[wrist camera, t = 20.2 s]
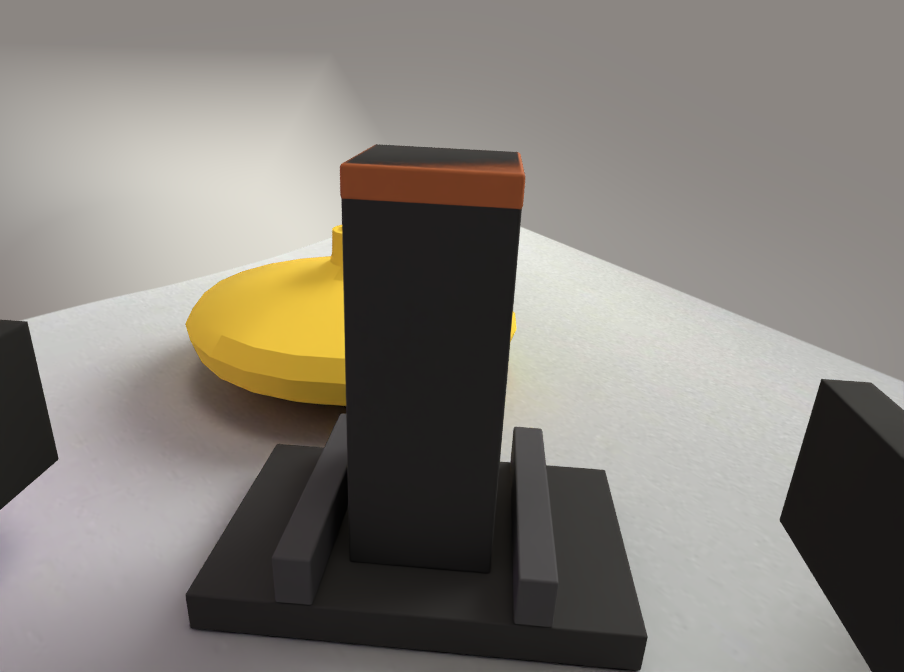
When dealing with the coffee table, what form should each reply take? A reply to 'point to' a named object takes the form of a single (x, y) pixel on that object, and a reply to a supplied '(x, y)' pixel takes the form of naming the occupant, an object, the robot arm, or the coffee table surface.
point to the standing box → (427, 348)
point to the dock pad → (426, 589)
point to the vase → (279, 329)
